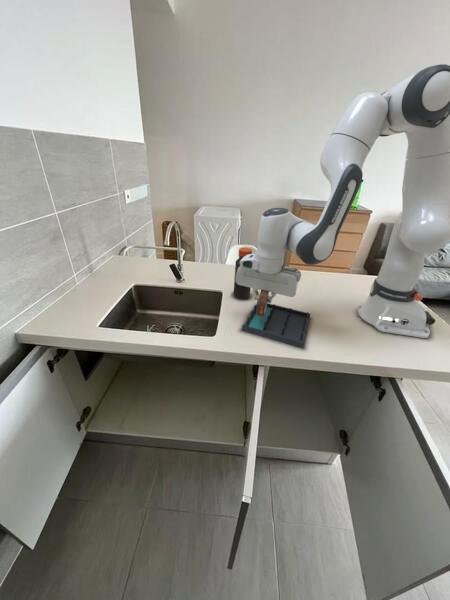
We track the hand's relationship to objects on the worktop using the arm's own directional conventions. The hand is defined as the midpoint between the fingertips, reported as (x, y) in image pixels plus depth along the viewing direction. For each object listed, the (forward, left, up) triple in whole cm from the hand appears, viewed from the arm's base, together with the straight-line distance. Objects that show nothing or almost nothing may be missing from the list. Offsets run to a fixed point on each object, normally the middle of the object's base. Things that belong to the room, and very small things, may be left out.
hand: (263, 300), depth 83 cm
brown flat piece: (0, 0, -4) cm, 4 cm away
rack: (-6, 0, -8) cm, 10 cm away
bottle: (+12, -13, -8) cm, 19 cm away
